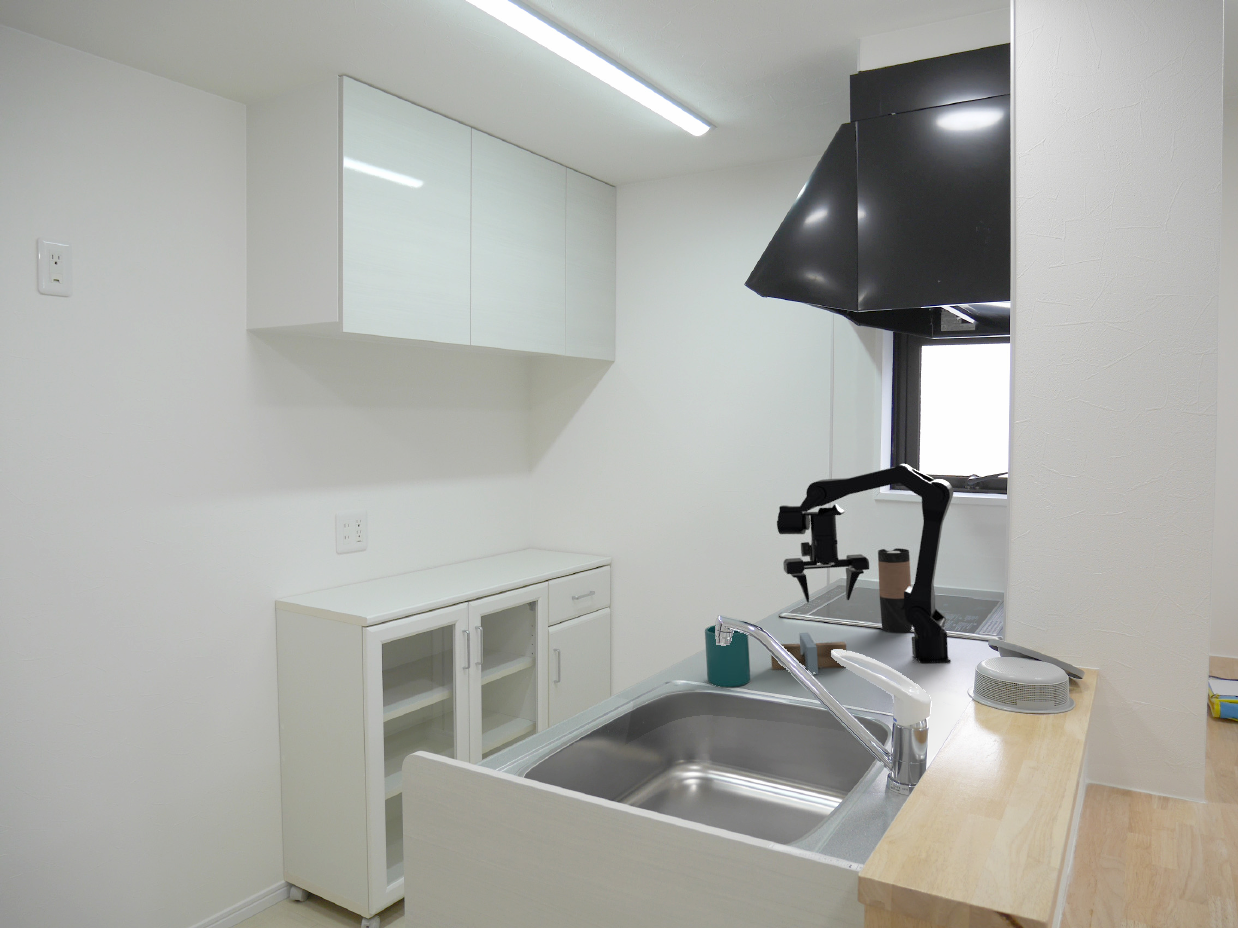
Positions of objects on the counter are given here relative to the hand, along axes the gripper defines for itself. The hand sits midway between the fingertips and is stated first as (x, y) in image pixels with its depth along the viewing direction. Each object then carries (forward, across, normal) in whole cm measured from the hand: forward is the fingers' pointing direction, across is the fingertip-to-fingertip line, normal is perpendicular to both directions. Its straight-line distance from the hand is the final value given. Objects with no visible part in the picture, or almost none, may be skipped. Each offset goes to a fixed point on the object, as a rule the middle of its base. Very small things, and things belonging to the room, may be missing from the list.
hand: (827, 600), depth 191 cm
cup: (+12, +24, +18) cm, 33 cm away
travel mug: (+12, -20, -16) cm, 29 cm away
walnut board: (+12, +7, +12) cm, 18 cm away
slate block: (+12, +7, +11) cm, 18 cm away
